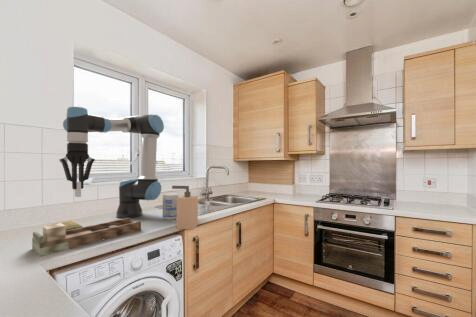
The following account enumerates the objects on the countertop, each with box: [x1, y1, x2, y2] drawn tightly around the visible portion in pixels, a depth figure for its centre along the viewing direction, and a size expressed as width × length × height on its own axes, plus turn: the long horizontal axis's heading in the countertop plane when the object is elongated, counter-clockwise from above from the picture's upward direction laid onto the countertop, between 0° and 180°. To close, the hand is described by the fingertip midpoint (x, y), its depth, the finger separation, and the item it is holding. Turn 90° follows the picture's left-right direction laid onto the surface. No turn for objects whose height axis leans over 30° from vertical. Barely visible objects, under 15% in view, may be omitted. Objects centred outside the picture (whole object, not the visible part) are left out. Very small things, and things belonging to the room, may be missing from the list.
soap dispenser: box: [171, 185, 199, 231], centre depth 123 cm, size 13×9×22 cm
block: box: [42, 222, 66, 242], centre depth 94 cm, size 6×6×6 cm
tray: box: [31, 218, 142, 257], centre depth 106 cm, size 40×12×7 cm, turn 142°
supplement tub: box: [162, 192, 180, 221], centre depth 142 cm, size 10×10×15 cm
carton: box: [52, 220, 84, 231], centre depth 114 cm, size 8×16×4 cm, turn 52°
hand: (77, 196), depth 101 cm, fingers closed
